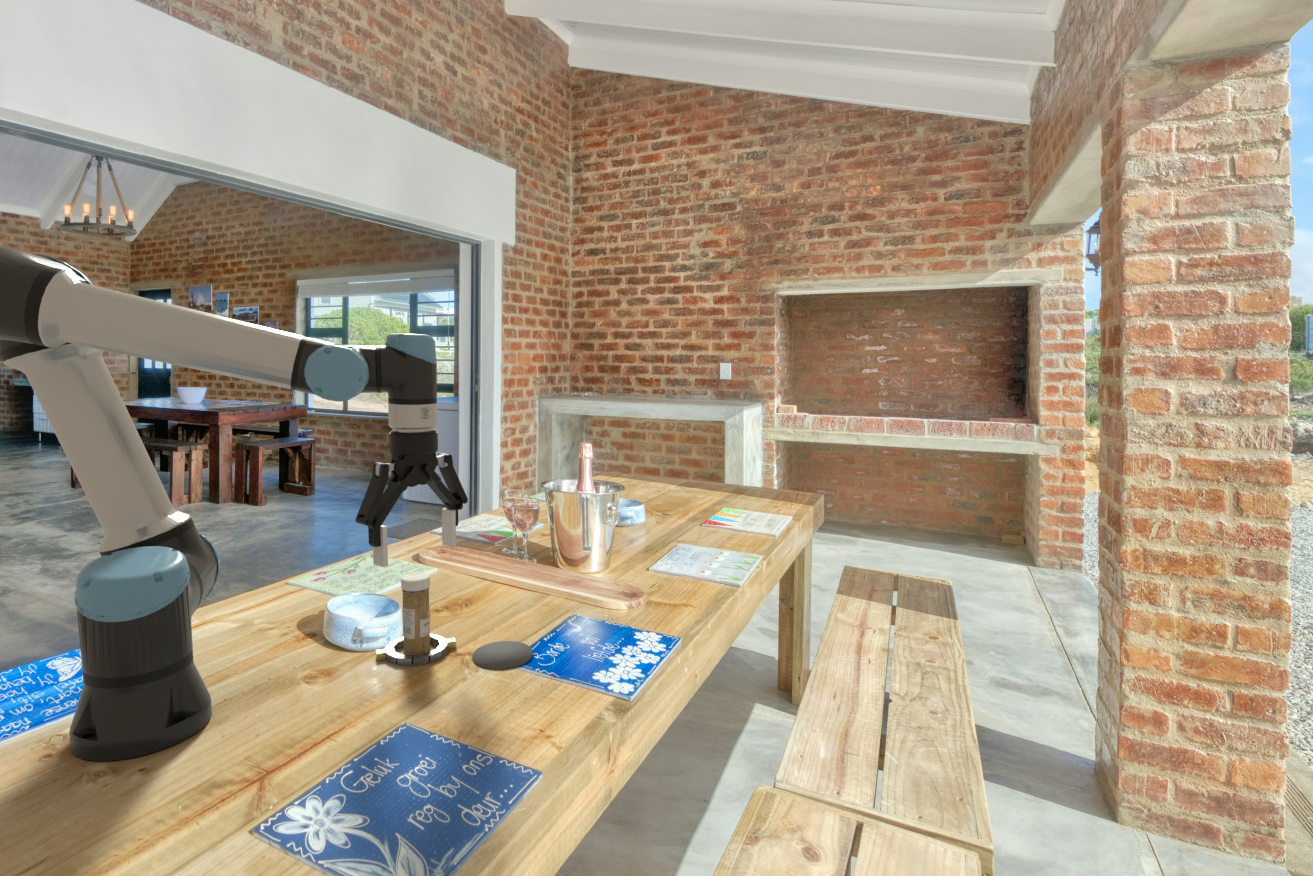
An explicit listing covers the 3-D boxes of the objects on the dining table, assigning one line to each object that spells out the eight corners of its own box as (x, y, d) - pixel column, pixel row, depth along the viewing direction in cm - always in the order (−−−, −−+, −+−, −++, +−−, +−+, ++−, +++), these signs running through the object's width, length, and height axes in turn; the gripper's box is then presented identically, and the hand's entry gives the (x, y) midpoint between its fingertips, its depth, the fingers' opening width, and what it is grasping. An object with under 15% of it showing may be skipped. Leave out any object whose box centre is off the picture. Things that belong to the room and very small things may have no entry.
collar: (379, 671, 109) (379, 664, 109) (374, 646, 118) (373, 640, 118) (460, 657, 115) (460, 650, 115) (450, 634, 124) (450, 628, 123)
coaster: (479, 673, 109) (479, 671, 109) (467, 648, 118) (467, 646, 118) (540, 662, 114) (540, 660, 114) (523, 639, 123) (523, 637, 122)
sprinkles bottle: (434, 654, 116) (433, 577, 114) (406, 660, 113) (404, 582, 111) (426, 644, 119) (425, 570, 118) (399, 650, 117) (398, 574, 115)
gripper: (357, 438, 99) (362, 579, 102) (487, 424, 120) (488, 542, 122) (328, 434, 103) (333, 569, 106) (458, 421, 124) (460, 535, 127)
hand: (416, 555), depth 114 cm, fingers open, 13 cm apart
